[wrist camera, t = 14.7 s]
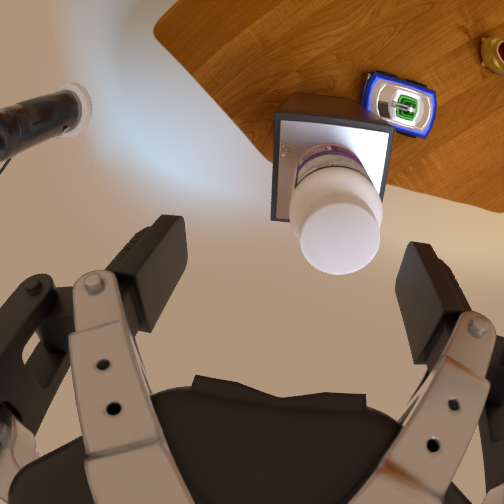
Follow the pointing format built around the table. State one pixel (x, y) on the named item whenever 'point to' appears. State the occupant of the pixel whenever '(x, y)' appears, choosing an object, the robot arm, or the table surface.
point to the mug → (493, 54)
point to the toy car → (400, 103)
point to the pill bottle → (335, 210)
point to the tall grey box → (325, 141)
